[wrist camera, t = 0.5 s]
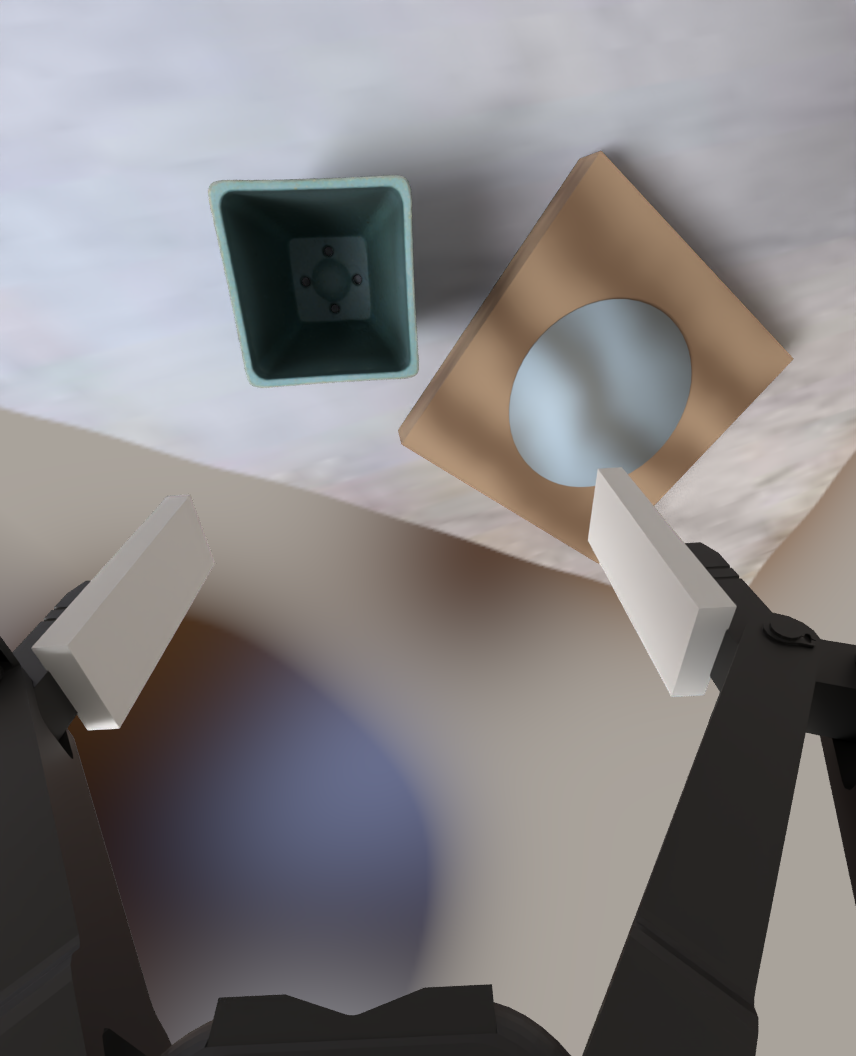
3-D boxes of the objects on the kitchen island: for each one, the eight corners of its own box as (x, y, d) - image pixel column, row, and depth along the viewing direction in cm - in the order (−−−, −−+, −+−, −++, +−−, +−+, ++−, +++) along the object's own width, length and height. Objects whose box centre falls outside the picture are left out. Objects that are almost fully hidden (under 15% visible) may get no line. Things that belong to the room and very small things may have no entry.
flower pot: (243, 197, 28) (202, 179, 21) (395, 192, 29) (411, 174, 21) (272, 355, 33) (248, 389, 25) (404, 347, 34) (419, 378, 26)
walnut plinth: (579, 158, 30) (602, 150, 27) (762, 350, 37) (795, 359, 34) (398, 430, 36) (401, 445, 34) (584, 545, 44) (599, 565, 41)
